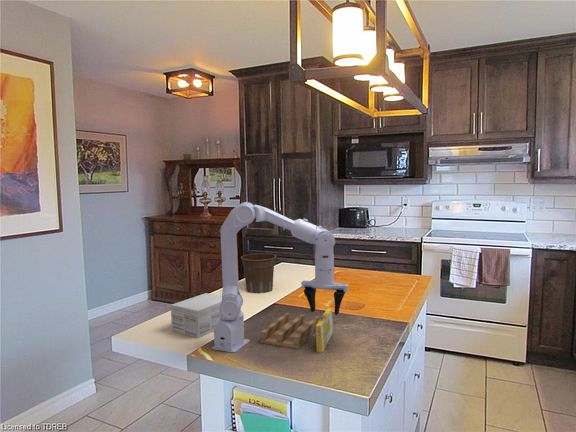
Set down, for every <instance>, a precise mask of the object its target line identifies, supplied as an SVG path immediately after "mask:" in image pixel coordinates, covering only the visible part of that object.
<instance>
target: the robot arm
mask: <svg viewBox="0 0 576 432" xmlns="http://www.w3.org/2000/svg"><path fill="white" fill-rule="evenodd" d="M255 219H256V220H255ZM254 220H255V222H257V223H259V222H269V223H270V224H273V225H275V226H278V227H281V228H283V229H286V230H289V231H290V233H291V235H292V237H293V238H296V239H298V240H300V241H302V242H303V241H304V242H306V243H308V244H310V245H315V253H314V269H315V270H314V280H302V281H301V289H304V290H303V294H304V296H305V297H306V299H307V301H308V302H307V303H308V304H309V305H308V306H309V308H310V312H311V313H314V312H315V311H316V295H317V294H316V293H317V292H316V291H317V290H329V291H334V292H333V298H334V299H333V300H334V315H335V316H338V315H339V313H340V307H341V304H342V301H343V299H344V296H345V294H346V293H347V292H349V283H341V282H336V281H335V264H334V263H335V259H334V258H335V257H334V256H335V255H334V254H335V253H334V247H335V244H336V239H335V236H334V234H333V233H332V232H331V231H329V230H327V229H326V228H325V227H324V228H323V226H321V225H315V224H313V223H311V222H309V220H308V219H307V218H303V219H301V218H298V219H295V220H293V219H291V218H289V217H287V216H285V215H282V214H280V213H278V212H277V211H274V210H272V209H270V208H268V207H264V206H262V205H258V204H253V203H251V202H249V201H245V202H241V203H240V204H238V205H236V206H235V207H234V208H233V209H232V210H230V212H229V214H228V215H227V217H226V219H225V220H224V222H223V223H222V225H221V227H220V230H219V231H220V249H221V250H220V252H221V255H220V256H221V277H222V289H221V290H222V292H221V296H222V302H221V304H220V307H219V312H220V320H219V322H218V323H217V324H216V326H215V328H214V331H213V338H214V340H213V341H214V342H213V344H214V345H213V346H212V347H211V349H212V350H216V351H221V352H227V353H233V354H234V353H236V352H238V351H239V350H240V349H242V348H243V347H244V346H246V345H247V344H248V343H249V342H250V339H247V338H246V339H245V327H244V325H245V321H244V319H245V318H244V313H243V312H242V306H243V302H244V299H243V295H242V294H241V293H240V292H241V291H240V284H239V269H238V268H239V267H238V266H239V265H238V243H237V242H238V241H237V234H238V232H240V230H241V229H243V228H244V227H246V226H248V225H250V224H252V222H253V221H254Z"/></svg>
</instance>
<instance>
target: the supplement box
mask: <svg viewBox="0 0 576 432" xmlns="http://www.w3.org/2000/svg"><path fill="white" fill-rule="evenodd" d="M221 302H222V295H218V294H213V293H208V292H207V293H206V292H205V293H201V294H200V295H196V296H193V297H190V298H188V299H184V300H182V301H178V302H175V303H172V304H170V316H171V319H170V320H171V331H172V332H175V333H179V334H182V335H185V336H190V337H194V338H197V339H198V338H199V339H200V338H201V337H204V336H205V335H208V334H209V333H212V332H214V328H215V326H216V324H217V323H218V322H219V320H220V312H219V307H220V304H221Z"/></svg>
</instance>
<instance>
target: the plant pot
mask: <svg viewBox="0 0 576 432" xmlns="http://www.w3.org/2000/svg"><path fill="white" fill-rule="evenodd" d="M276 258H277V255H276V254H273V253H249V254H244V255H242V256H241V257H240V259H241V263H242V267H243V272H244V281H245V290H246V292H248V293H249V294H262V293H263V294H266V293H270V292H271V291H273V290H274V289H273V286H274V285H273V284H274V274H275V273H274V271H275V266H276Z"/></svg>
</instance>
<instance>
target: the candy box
mask: <svg viewBox="0 0 576 432" xmlns="http://www.w3.org/2000/svg"><path fill="white" fill-rule="evenodd" d="M324 311H325V312H324V313H323V314H322V315H321V317H320V320H319V322H318V323H317V325H316V331H315V340H316V341H315V343H316V352H317V353H324V351H325V349H326V347H327V345H328V343H329V342H330V339H331V337H332V336H333V333H334V325H333V322H334V321H333V309H332V308H326V310H324Z"/></svg>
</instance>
